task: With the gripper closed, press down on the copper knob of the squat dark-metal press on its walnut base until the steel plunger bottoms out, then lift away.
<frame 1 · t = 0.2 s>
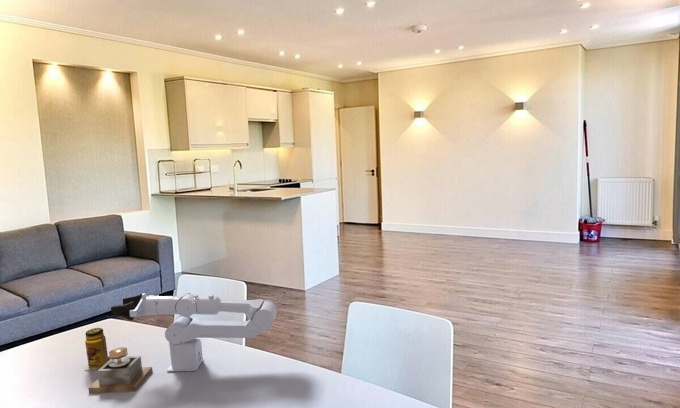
hand: (117, 306, 152), 21 cm above the table, tool horizontal, fingers open, 7 cm apart
plunger: (118, 356, 145), point 8 cm above the table, slide at 0.0 cm
condiment: (99, 363, 160), on the table
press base: (121, 381, 147), on the table
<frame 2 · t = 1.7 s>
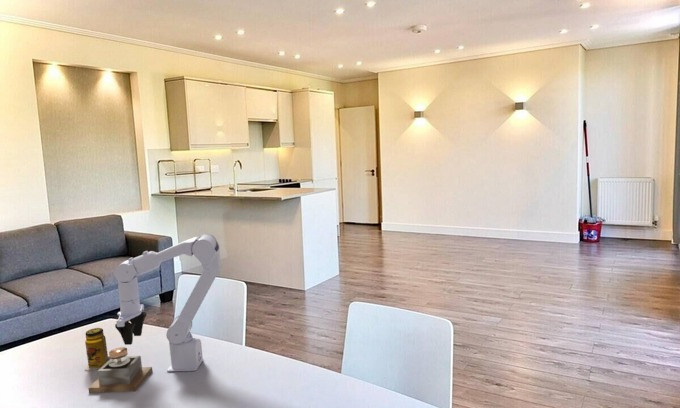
hand: (133, 339, 152), 10 cm above the table, tool pointing down, fingers open, 6 cm apart
nothing on the table moved.
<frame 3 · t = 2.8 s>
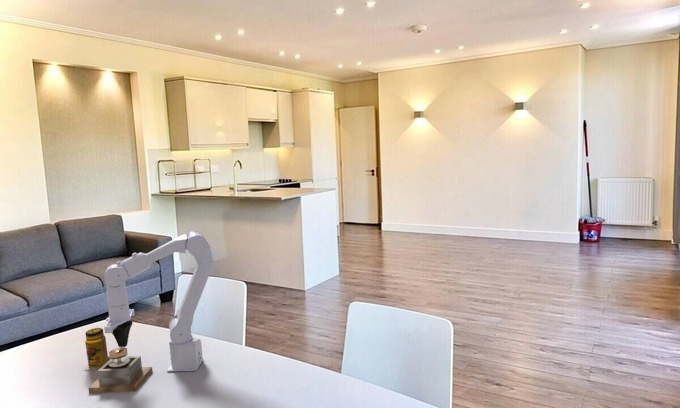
hand: (123, 346, 147), 10 cm above the table, tool pointing down, fingers closed
nothing on the table moved.
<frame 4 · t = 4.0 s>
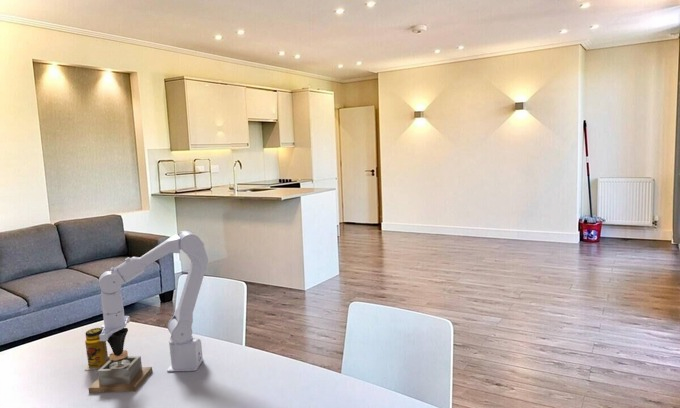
hand: (118, 353, 145), 9 cm above the table, tool pointing down, fingers closed, pressing on plunger
plunger: (119, 359, 145), point 7 cm above the table, slide at 0.9 cm, touching gripper
everything else where it was.
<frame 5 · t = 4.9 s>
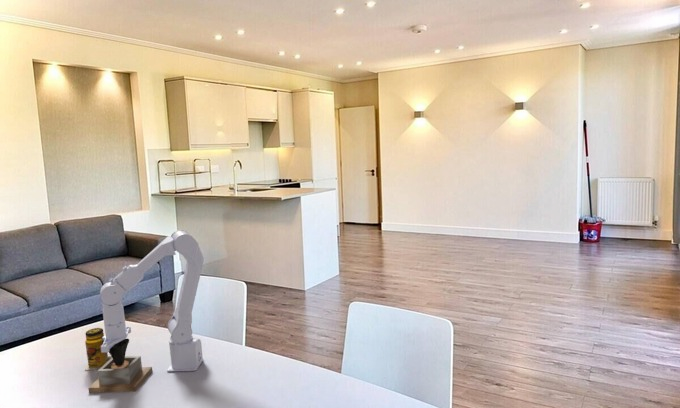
hand: (119, 364, 146), 6 cm above the table, tool pointing down, fingers closed, pressing on plunger
plunger: (120, 370, 146), point 4 cm above the table, slide at 4.3 cm, touching gripper
everything else where it was.
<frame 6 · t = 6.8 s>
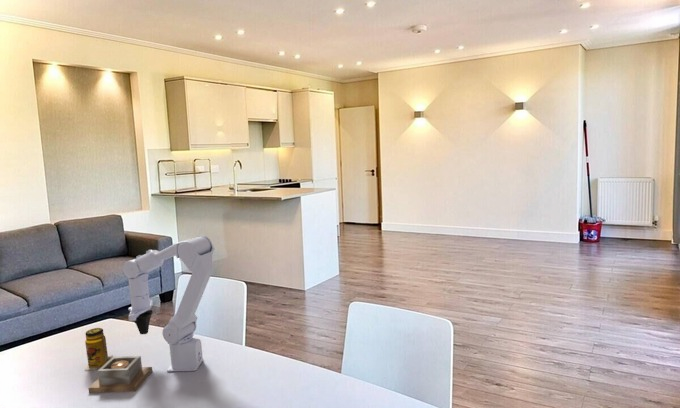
hand: (144, 333, 159), 9 cm above the table, tool pointing down, fingers closed
plunger: (120, 370, 146), point 4 cm above the table, slide at 4.3 cm
everything else where it was.
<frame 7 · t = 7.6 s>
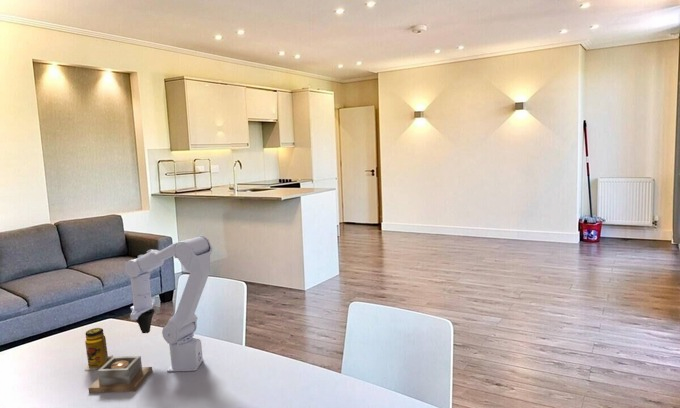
hand: (146, 332, 160), 9 cm above the table, tool pointing down, fingers closed
nothing on the table moved.
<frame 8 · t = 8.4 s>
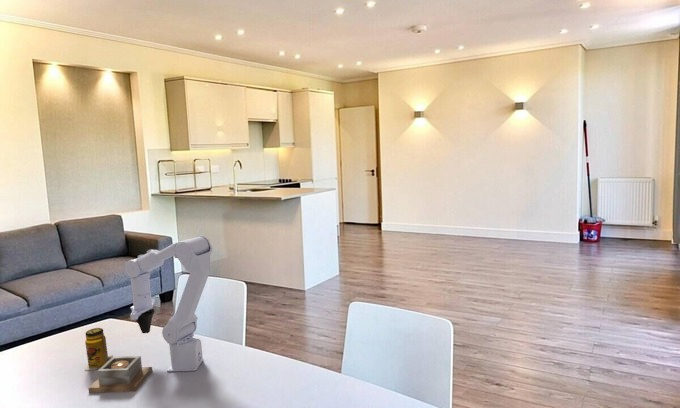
hand: (146, 332, 160), 9 cm above the table, tool pointing down, fingers closed
nothing on the table moved.
at the end: plunger slide at 4.3 cm; the gripper is holding nothing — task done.
